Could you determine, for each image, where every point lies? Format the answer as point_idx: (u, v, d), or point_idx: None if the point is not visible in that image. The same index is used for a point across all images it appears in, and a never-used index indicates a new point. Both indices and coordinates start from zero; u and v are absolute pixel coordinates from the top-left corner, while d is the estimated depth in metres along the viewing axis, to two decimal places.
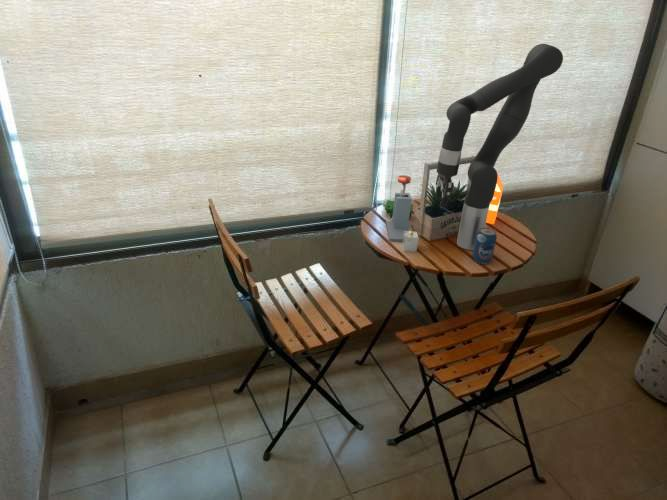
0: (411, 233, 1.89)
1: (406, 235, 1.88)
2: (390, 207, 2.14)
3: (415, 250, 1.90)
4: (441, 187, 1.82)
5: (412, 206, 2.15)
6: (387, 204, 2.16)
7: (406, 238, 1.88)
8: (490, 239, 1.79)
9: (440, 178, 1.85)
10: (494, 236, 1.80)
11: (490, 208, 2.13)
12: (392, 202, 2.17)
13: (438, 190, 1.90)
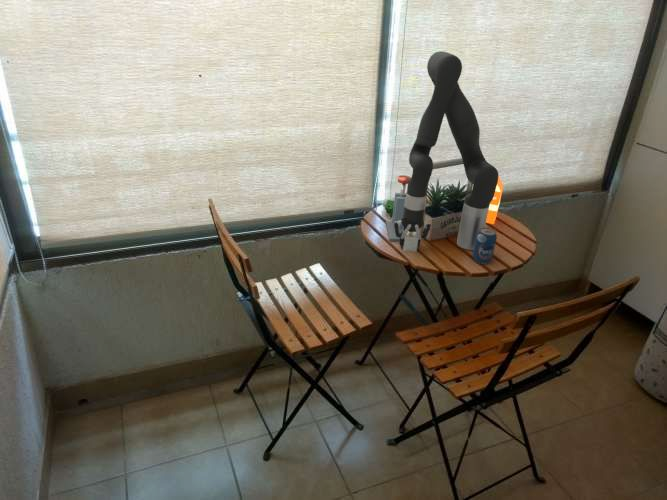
0: (411, 233, 1.89)
1: (406, 235, 1.88)
2: (390, 206, 2.15)
3: (415, 250, 1.90)
4: (418, 231, 1.87)
5: None
6: (387, 204, 2.16)
7: (406, 238, 1.87)
8: (490, 239, 1.79)
9: (410, 224, 1.86)
10: (494, 236, 1.80)
11: (490, 208, 2.13)
12: (392, 202, 2.17)
13: None
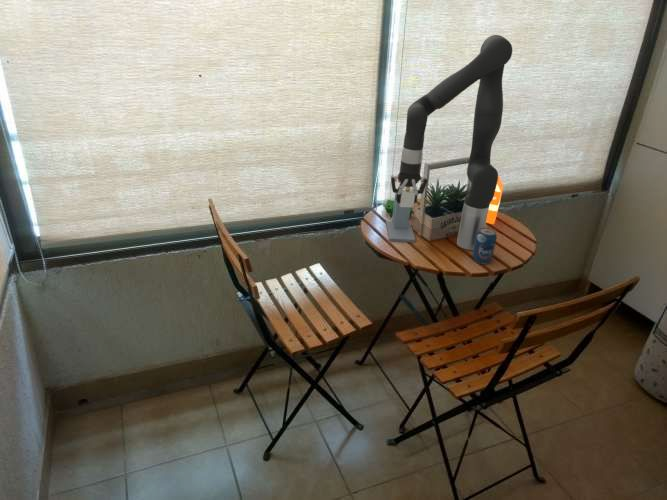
0: (408, 188, 1.89)
1: (403, 190, 1.88)
2: (390, 206, 2.15)
3: (412, 206, 1.90)
4: (415, 186, 1.87)
5: None
6: (387, 204, 2.16)
7: (403, 193, 1.87)
8: (490, 239, 1.79)
9: (407, 179, 1.86)
10: (494, 236, 1.80)
11: (490, 208, 2.13)
12: (392, 202, 2.17)
13: (400, 195, 1.90)
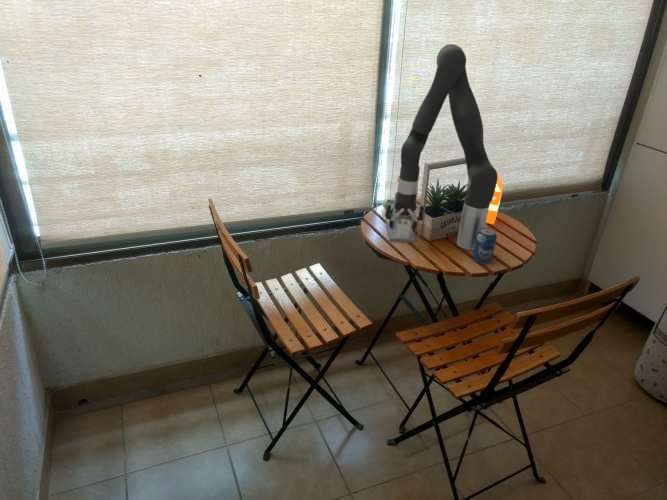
0: (404, 221, 1.95)
1: (399, 222, 1.95)
2: None
3: (407, 237, 1.96)
4: (412, 214, 1.93)
5: None
6: None
7: (399, 225, 1.94)
8: (490, 239, 1.79)
9: (403, 209, 1.92)
10: (494, 236, 1.80)
11: (490, 208, 2.13)
12: (392, 201, 2.17)
13: (393, 221, 1.95)
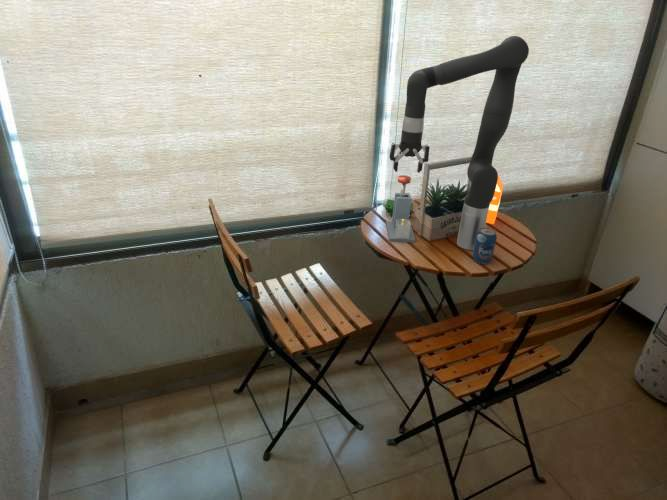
0: (404, 221, 1.95)
1: (399, 222, 1.95)
2: (390, 206, 2.15)
3: (407, 237, 1.96)
4: (418, 155, 1.86)
5: (412, 205, 2.15)
6: (387, 203, 2.17)
7: (399, 225, 1.94)
8: (490, 239, 1.79)
9: (408, 149, 1.85)
10: (494, 236, 1.80)
11: (490, 208, 2.13)
12: (392, 201, 2.18)
13: None
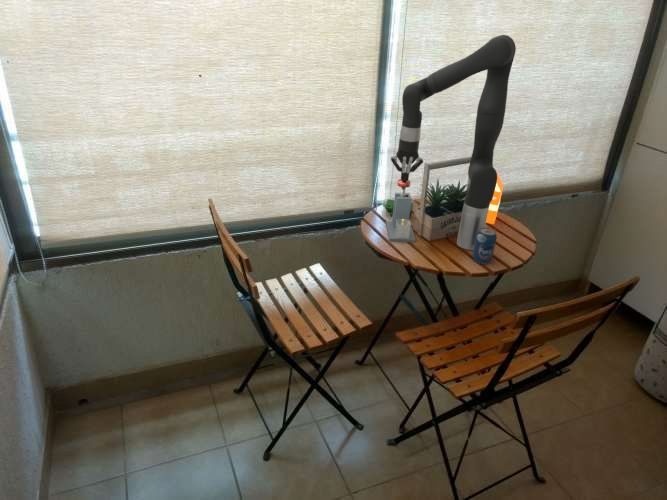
0: (404, 221, 1.95)
1: (399, 222, 1.95)
2: (390, 206, 2.15)
3: (407, 237, 1.96)
4: (410, 164, 1.94)
5: (412, 205, 2.16)
6: (387, 203, 2.17)
7: (399, 225, 1.94)
8: (490, 239, 1.79)
9: (405, 156, 1.92)
10: (494, 236, 1.80)
11: (490, 208, 2.13)
12: (392, 201, 2.18)
13: None
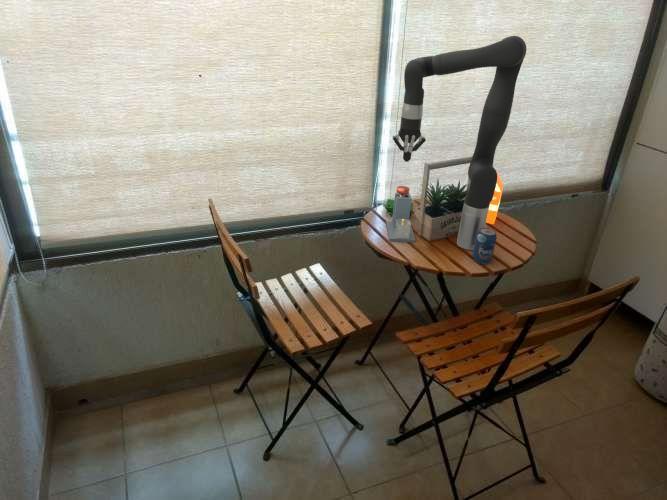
0: (404, 221, 1.95)
1: (399, 222, 1.95)
2: (390, 206, 2.15)
3: (407, 237, 1.96)
4: (412, 143, 1.90)
5: (412, 205, 2.16)
6: (387, 203, 2.17)
7: (399, 225, 1.94)
8: (490, 239, 1.79)
9: (407, 135, 1.88)
10: (494, 236, 1.80)
11: (490, 208, 2.13)
12: (392, 201, 2.18)
13: None
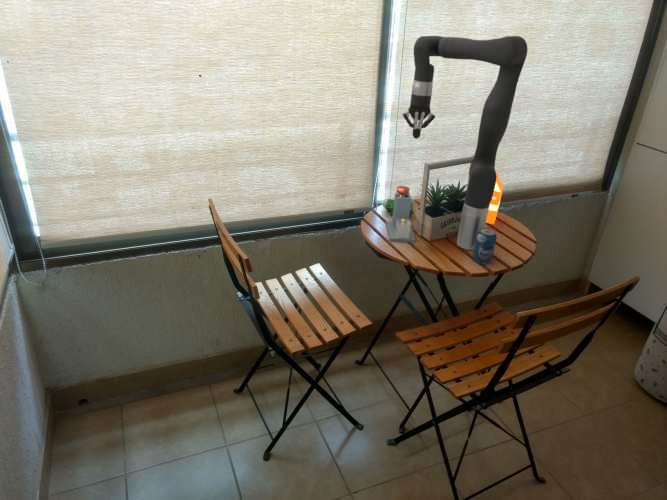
0: (404, 221, 1.95)
1: (399, 222, 1.95)
2: (390, 205, 2.16)
3: (407, 237, 1.96)
4: (422, 120, 1.95)
5: (412, 205, 2.16)
6: (387, 203, 2.17)
7: (399, 225, 1.94)
8: (490, 239, 1.79)
9: (417, 111, 1.93)
10: (494, 236, 1.80)
11: (490, 208, 2.13)
12: (392, 201, 2.18)
13: None
